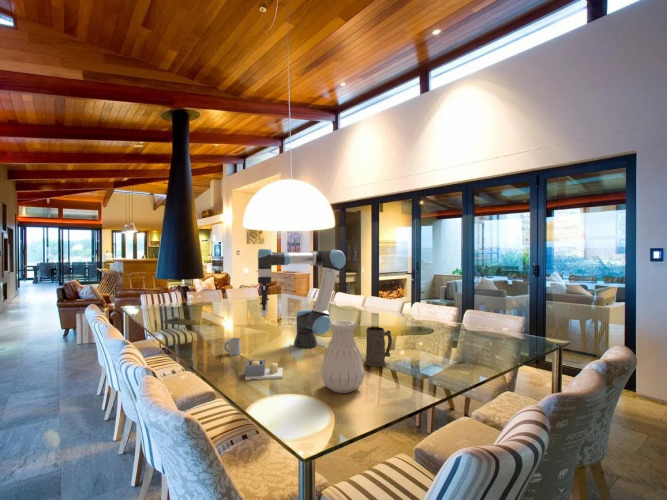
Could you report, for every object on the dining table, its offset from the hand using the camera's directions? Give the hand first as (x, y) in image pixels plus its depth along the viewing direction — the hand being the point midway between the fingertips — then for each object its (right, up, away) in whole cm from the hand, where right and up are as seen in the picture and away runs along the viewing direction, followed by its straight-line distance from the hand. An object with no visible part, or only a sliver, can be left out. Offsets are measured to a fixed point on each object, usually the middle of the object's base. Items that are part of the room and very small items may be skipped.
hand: (264, 314), depth 202 cm
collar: (0, -26, -22) cm, 34 cm away
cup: (-22, -27, +14) cm, 38 cm away
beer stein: (+64, -27, -3) cm, 70 cm away
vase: (+43, -27, -39) cm, 64 cm away
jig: (+4, -27, -22) cm, 35 cm away
